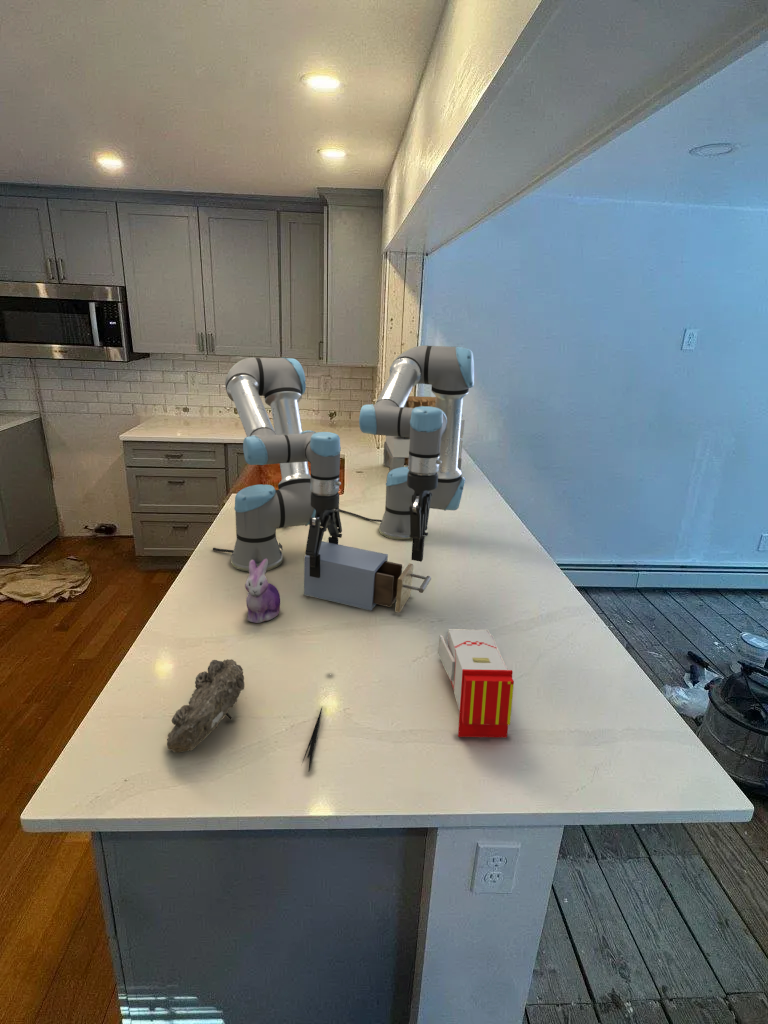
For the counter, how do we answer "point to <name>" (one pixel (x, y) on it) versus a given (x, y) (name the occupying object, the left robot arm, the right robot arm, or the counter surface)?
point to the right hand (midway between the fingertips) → (417, 559)
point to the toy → (478, 682)
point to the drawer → (395, 584)
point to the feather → (313, 740)
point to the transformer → (399, 446)
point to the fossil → (206, 705)
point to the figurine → (261, 594)
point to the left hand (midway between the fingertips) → (324, 567)
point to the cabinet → (344, 575)
